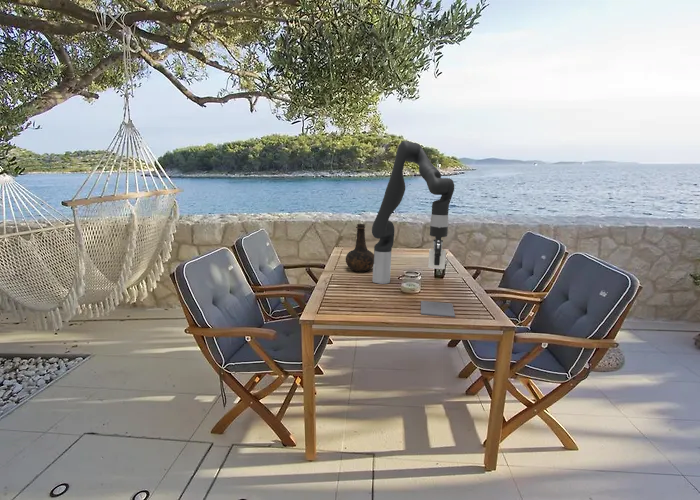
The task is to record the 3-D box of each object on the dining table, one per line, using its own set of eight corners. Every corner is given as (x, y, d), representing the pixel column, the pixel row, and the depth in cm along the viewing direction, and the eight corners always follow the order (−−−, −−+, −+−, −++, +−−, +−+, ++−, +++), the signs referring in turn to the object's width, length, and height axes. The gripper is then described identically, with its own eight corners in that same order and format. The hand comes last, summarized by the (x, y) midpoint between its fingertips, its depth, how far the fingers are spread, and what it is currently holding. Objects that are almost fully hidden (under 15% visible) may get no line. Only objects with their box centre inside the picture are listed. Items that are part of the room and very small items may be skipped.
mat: (420, 314, 164) (420, 313, 163) (420, 302, 179) (420, 300, 179) (455, 317, 161) (455, 315, 161) (452, 304, 177) (452, 303, 177)
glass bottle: (376, 267, 241) (378, 222, 236) (373, 274, 224) (375, 226, 219) (348, 265, 244) (349, 221, 239) (342, 272, 227) (343, 225, 221)
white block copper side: (428, 268, 170) (429, 250, 168) (428, 266, 173) (429, 248, 172) (444, 269, 169) (445, 251, 167) (444, 267, 172) (445, 249, 170)
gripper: (430, 222, 175) (427, 260, 178) (430, 226, 161) (427, 267, 165) (447, 223, 173) (444, 261, 177) (448, 227, 160) (446, 268, 163)
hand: (436, 263), depth 171 cm, fingers closed on white block copper side, 3 cm apart
